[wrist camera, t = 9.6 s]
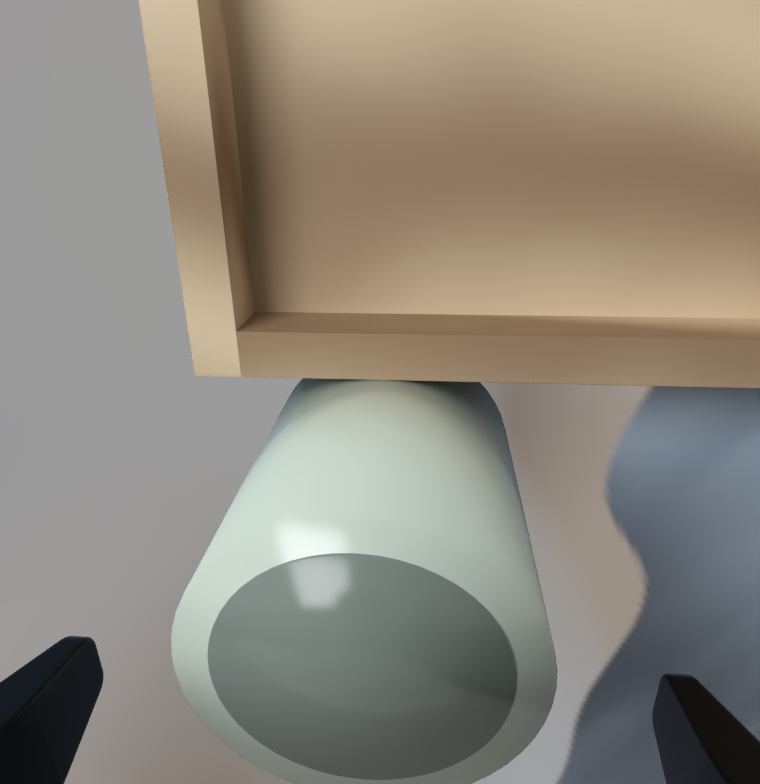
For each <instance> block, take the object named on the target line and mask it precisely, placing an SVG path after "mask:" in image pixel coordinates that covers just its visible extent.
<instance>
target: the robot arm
mask: <svg viewBox="0 0 760 784" xmlns="http://www.w3.org/2000/svg"><path fill="white" fill-rule="evenodd" d="M102 684H103V669H102V666H101V662H100V659H99V655H98V651H97V648H96V644H95V642H94V640H92V638H90V637H79V636H68V637H65V638H63V639H61V640H60V641H59V642H57V643H56V644H54V645H53V646H51V647H50V648H49V649H47V650H46V651H44V652H43V653H41V654H40V655H39V656H37V657H36V658H34V659H33V660H31V661H30V662H29V663H27V664H26V665H24V666H23V667H22V668H20V669H19V670H17V671H16V672H14V673H13V674H12V675H10V676H9V677H8V678H6V679H5V680H3V681H2V682H0V784H64V782H65V779H66V777H67V774H68V772H69V769H70V767H71V765H72V762H73V759H74V757H75V754H76V752H77V749H78V747H79V744H80V742H81V739H82V736H83V734H84V731H85V729H86V726H87V724H88V721H89V718H90V716H91V713H92V711H93V708H94V706H95V703H96V701H97V698H98V696H99V693H100V691H101V688H102ZM652 717H653V727H654V731H655V736H656V740H657V744H658V749H659V753H660V758H661V762H662V766H663V771H664V775H665V779H666V784H760V741H759V740H758V739H757V738H756V737H755V736H754V735H753V734H752V733H751V732H750V731H748V730H747V729H746V728H745V727H744V726H743V725H742V724H741V723H740V722H739V721H738V720H737V719H736V718H735V717H734V716H733V715H732V714H731V713H730V712H729V711H728V710H727V709H726V708H725V707H724V706H723V705H722V704H721V703H720V702H719V701H718V700H717V699H716V698H715V697H714V696H713V695H712V694H711V693H710V692H709V691H708V690H707V689H706V688H705V687H704V686H703V685H702V684H701V683H700V682H699V681H698V680H697V679H696V678H694V677H692V676H690V675H684V674H664V675H663V676H662V678H661V680H660V684H659V688H658V692H657V696H656V699H655V703H654V707H653V715H652Z"/></svg>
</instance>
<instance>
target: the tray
mask: <svg viewBox="0 0 760 784" xmlns="http://www.w3.org/2000/svg"><path fill="white" fill-rule="evenodd" d="M139 6H140V12H141V19H142V26H143V32H144V39H145V46H146V53H147V59H148V66H149V72H150V79H151V86H152V92H153V98H154V105H155V112H156V119H157V126H158V132H159V139H160V146H161V152H162V158H163V166H164V171H165V178H166V186H167V191H168V199H169V205H170V212H171V219H172V225H173V232H174V238H175V245H176V252H177V259H178V265H179V272H180V278H181V285H182V292H183V298H184V305H185V311H186V318H187V325H188V332H189V338H190V345H191V352H192V358H193V365H194V371H195V376H231V377H232V376H233V377H275V378H320V379H365V380H410V381H455V382H501V383H545V384H546V383H547V384H590V385H635V386H680V387H725V388H760V0H139Z"/></svg>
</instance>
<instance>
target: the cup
mask: <svg viewBox="0 0 760 784" xmlns="http://www.w3.org/2000/svg"><path fill="white" fill-rule="evenodd" d="M171 651H172V658H173V665H174V669H175V672H176V675H177V678H178V682H179V684H180V686H181V689H182V691H183V693H184V695H185V697H186V699H187V701H188V702H189V704H190V705H191V707H192V708H193V710H194V711H195V713H196V714H197V716H198V717H199V718H200V719H201V720H202V722H203V723H204V724H205V725H206V726H207V727H208V729H209V730H210V731H211V732H212V733H213V734H214V735H215V736H217V737H218V738H219V739H220V740H221V741H222V742H223V743H224V744H225V745H226V746H228V747H229V748H230V749H232V750H233V751H235V752H236V753H237V754H238V755H240V756H241V757H243V758H244V759H246V760H248V761H249V762H251V763H253V764H254V765H256V766H258V767H259V768H261V769H263V770H265V771H267V772H269V773H271V774H273V775H275V776H277V777H280V778H282V779H285V780H287V781H290V782H293V783H295V784H471V783H474V782H476V781H478V780H480V779H482V778H484V777H486V776H488V775H490V774H492V773H494V772H495V771H497V770H498V769H500V768H502V767H503V766H505V765H506V764H508V763H509V762H510V761H511V760H513V759H514V758H515V757H516V756H518V755H519V754H520V753H521V752H522V751H523V750H524V749H525V748H526V747H527V746H528V745H529V743H530V742H531V741H532V740H533V739H534V738H535V736H536V735H537V734H538V732H539V731H540V729H541V728H542V726H543V725H544V723H545V720H546V718H547V716H548V714H549V712H550V710H551V707H552V704H553V700H554V696H555V692H556V683H557V665H556V657H555V650H554V646H553V641H552V637H551V632H550V628H549V623H548V619H547V614H546V610H545V605H544V601H543V597H542V592H541V587H540V583H539V579H538V574H537V570H536V565H535V561H534V556H533V552H532V548H531V543H530V538H529V534H528V529H527V526H526V521H525V516H524V512H523V507H522V503H521V498H520V494H519V490H518V485H517V480H516V476H515V472H514V467H513V462H512V458H511V454H510V450H509V445H508V440H507V436H506V431H505V427H504V424H503V421H502V417H501V414H500V412H499V410H498V408H497V406H496V404H495V402H494V400H493V399H492V397H491V396H490V394H489V393H488V391H487V390H486V389H485V388H484V387H483V385H481V383H480V382H455V381H410V380H365V379H320V378H303V379H302V380H301V381H300V382H299V384H298V385H297V386H296V387H295V389H294V390H293V392H292V393H291V395H290V397H289V398H288V400H287V402H286V404H285V406H284V407H283V409H282V411H281V413H280V415H279V417H278V419H277V420H276V422H275V424H274V426H273V428H272V430H271V432H270V434H269V435H268V438H267V439H266V441H265V443H264V445H263V447H262V448H261V451H260V452H259V454H258V456H257V458H256V460H255V462H254V464H253V466H252V467H251V469H250V471H249V473H248V475H247V477H246V479H245V480H244V482H243V484H242V486H241V488H240V490H239V491H238V493H237V495H236V497H235V499H234V501H233V503H232V505H231V506H230V508H229V510H228V512H227V514H226V516H225V518H224V520H223V522H222V523H221V526H220V527H219V529H218V531H217V533H216V535H215V536H214V538H213V540H212V542H211V544H210V546H209V548H208V549H207V551H206V553H205V555H204V557H203V559H202V561H201V563H200V564H199V566H198V568H197V570H196V572H195V574H194V576H193V578H192V579H191V581H190V583H189V585H188V587H187V589H186V591H185V592H184V594H183V597H182V599H181V601H180V604H179V606H178V608H177V610H176V614H175V618H174V623H173V627H172V638H171Z"/></svg>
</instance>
